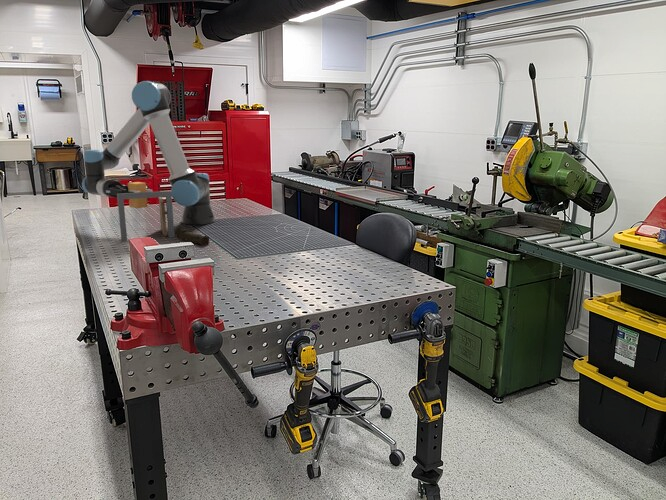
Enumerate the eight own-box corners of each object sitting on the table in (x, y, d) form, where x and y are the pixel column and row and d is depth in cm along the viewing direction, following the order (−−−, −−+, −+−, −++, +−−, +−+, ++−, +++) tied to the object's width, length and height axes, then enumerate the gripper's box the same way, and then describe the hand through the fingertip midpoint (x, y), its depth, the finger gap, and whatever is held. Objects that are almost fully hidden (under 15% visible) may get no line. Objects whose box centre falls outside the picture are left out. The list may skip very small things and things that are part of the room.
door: (170, 234, 210) (168, 201, 206) (163, 235, 209) (161, 202, 205) (167, 228, 222) (165, 196, 218) (161, 228, 221) (158, 197, 217)
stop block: (129, 207, 208) (127, 183, 206) (139, 205, 212) (137, 181, 210) (137, 208, 206) (135, 184, 203) (147, 206, 210) (145, 182, 207)
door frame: (173, 235, 211) (170, 190, 206) (174, 236, 209) (171, 191, 204) (121, 240, 201) (116, 193, 196) (122, 241, 200) (117, 194, 195)
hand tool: (210, 245, 198) (209, 233, 197) (201, 246, 195) (201, 235, 194) (182, 237, 210) (181, 226, 209) (173, 238, 207) (173, 227, 206)
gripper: (128, 194, 225) (164, 200, 213) (91, 199, 210) (127, 205, 198) (127, 177, 223) (163, 182, 211) (90, 181, 208) (126, 187, 196)
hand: (146, 193), depth 205 cm, fingers closed on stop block, 5 cm apart
